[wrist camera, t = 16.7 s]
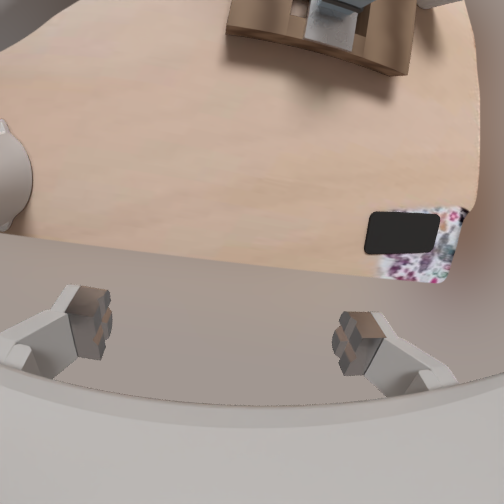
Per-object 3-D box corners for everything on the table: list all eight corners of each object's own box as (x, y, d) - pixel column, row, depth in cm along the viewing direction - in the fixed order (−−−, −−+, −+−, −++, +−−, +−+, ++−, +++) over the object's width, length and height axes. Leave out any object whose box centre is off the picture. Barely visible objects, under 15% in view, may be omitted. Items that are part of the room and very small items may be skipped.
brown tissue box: (225, 34, 33) (226, 25, 29) (244, -47, 27) (247, -62, 23) (389, 76, 37) (407, 75, 33) (400, 0, 31) (417, -7, 27)
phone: (432, 252, 51) (364, 254, 50) (429, 250, 52) (362, 252, 50) (441, 214, 48) (371, 212, 46) (439, 213, 49) (369, 210, 47)
